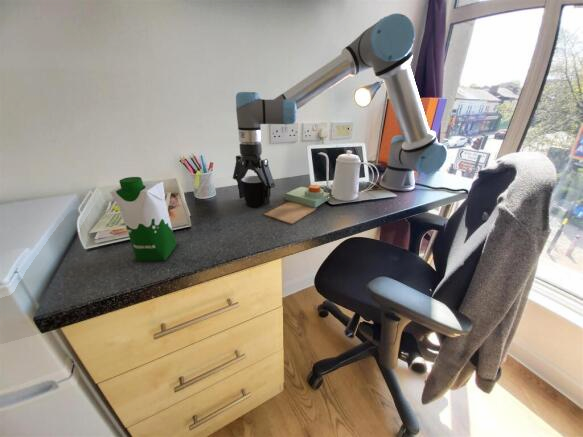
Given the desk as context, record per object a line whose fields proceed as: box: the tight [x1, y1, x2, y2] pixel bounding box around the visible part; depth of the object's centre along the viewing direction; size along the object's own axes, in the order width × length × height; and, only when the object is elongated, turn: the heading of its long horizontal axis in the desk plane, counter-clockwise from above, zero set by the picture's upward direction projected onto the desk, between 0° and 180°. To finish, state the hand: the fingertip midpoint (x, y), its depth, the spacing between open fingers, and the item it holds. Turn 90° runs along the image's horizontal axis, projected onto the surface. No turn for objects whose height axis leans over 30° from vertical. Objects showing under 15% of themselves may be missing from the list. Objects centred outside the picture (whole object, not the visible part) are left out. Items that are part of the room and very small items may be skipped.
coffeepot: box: [317, 149, 380, 202], centre depth 94 cm, size 11×25×19 cm, turn 62°
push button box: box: [284, 186, 331, 209], centre depth 94 cm, size 14×11×4 cm
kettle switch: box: [308, 184, 321, 193], centre depth 91 cm, size 4×4×2 cm
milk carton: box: [110, 176, 178, 262], centre depth 56 cm, size 9×9×20 cm
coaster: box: [263, 200, 317, 225], centre depth 84 cm, size 12×15×1 cm
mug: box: [241, 175, 264, 209], centre depth 89 cm, size 12×9×10 cm
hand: (254, 201), depth 91 cm, fingers open, 12 cm apart
